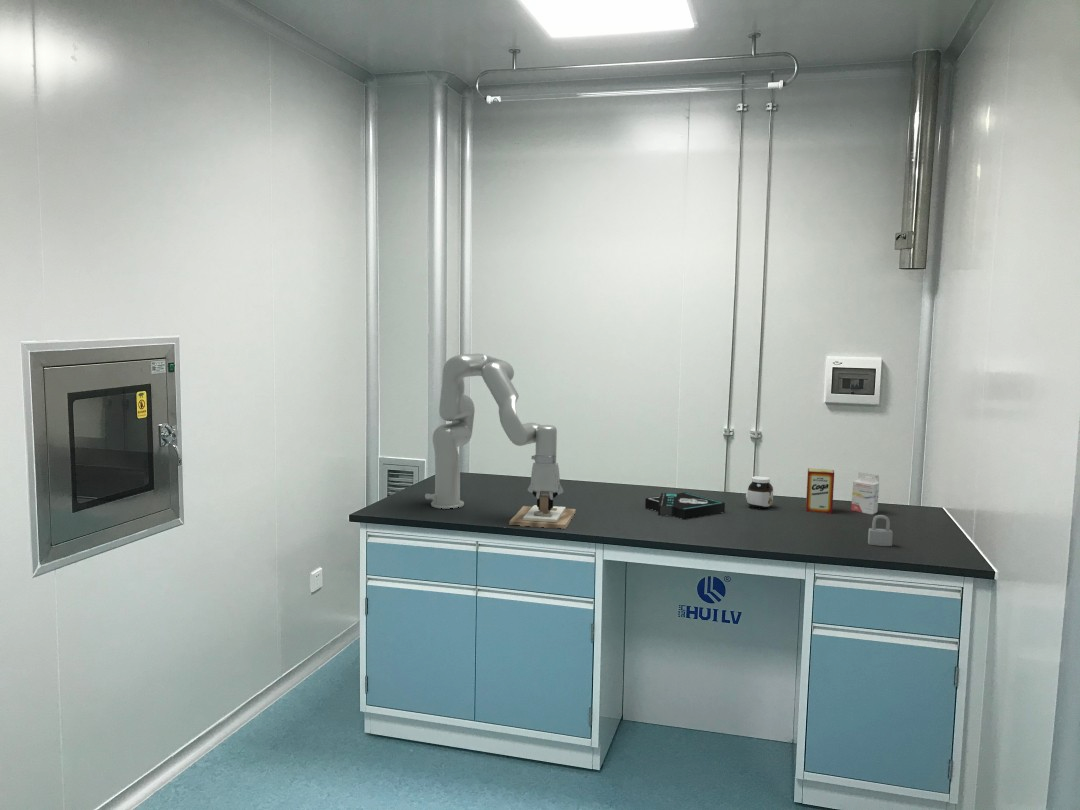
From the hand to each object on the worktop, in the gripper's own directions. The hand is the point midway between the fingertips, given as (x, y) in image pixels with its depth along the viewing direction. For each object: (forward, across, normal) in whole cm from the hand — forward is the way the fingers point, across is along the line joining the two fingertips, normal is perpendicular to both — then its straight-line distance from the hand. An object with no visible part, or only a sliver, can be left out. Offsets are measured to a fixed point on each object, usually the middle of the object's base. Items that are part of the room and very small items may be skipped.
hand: (545, 509), depth 300 cm
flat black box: (+4, +50, +27) cm, 57 cm away
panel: (+2, 0, 0) cm, 2 cm away
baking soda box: (+4, +100, +39) cm, 108 cm away
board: (+4, 0, 0) cm, 4 cm away
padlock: (+4, +114, -7) cm, 114 cm away
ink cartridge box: (+4, +118, +41) cm, 125 cm away
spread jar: (+4, +78, +41) cm, 88 cm away
